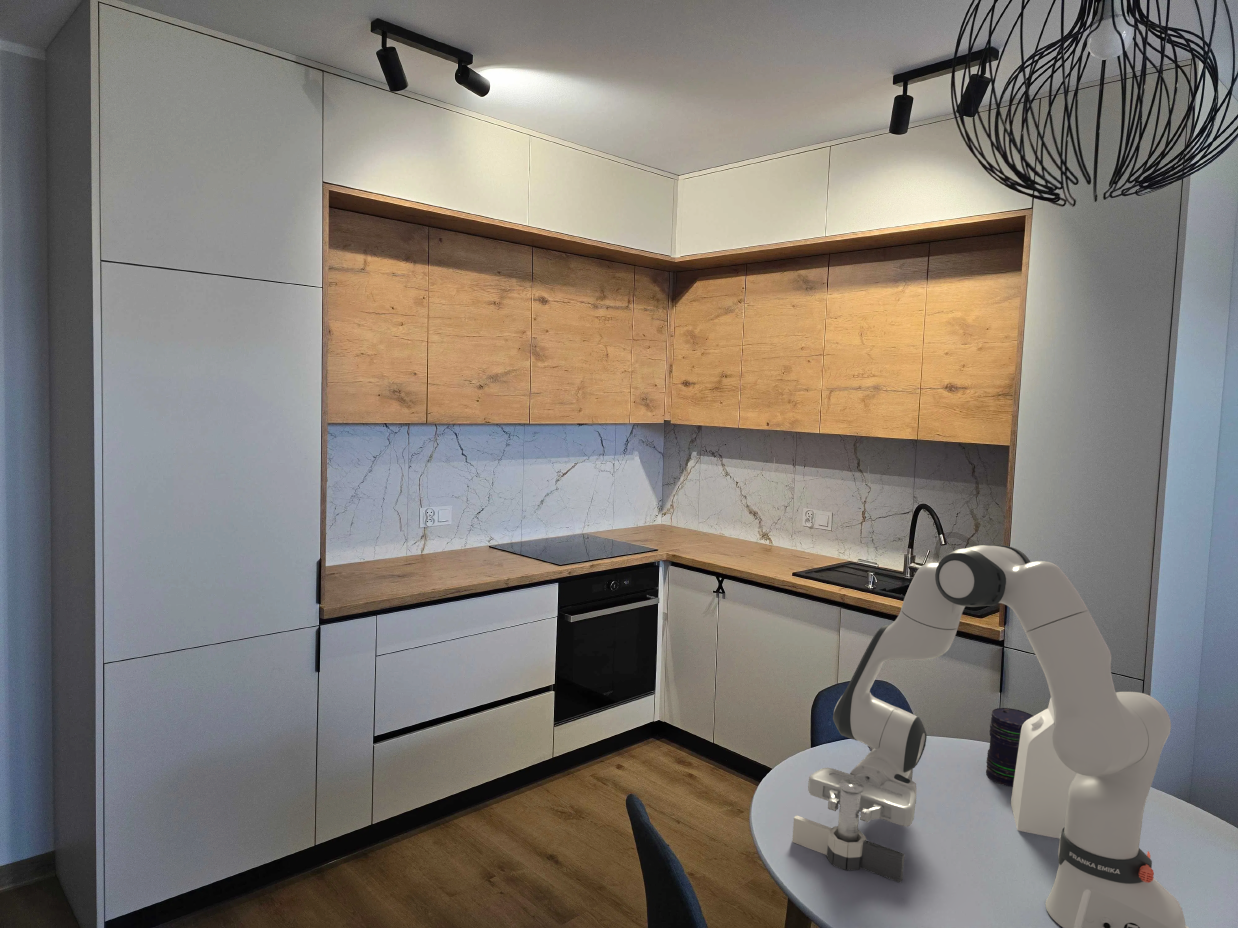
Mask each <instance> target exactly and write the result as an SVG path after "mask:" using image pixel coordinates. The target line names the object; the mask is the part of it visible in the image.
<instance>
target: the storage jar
mask: <svg viewBox="0 0 1238 928" xmlns="http://www.w3.org/2000/svg"><path fill="white" fill-rule="evenodd" d="M1033 716H1034V715H1033V714H1031V713H1029V712H1027V711H1024V710H1020V709H1017V708H1010V707H1009V708H1008V707H997V708H994V709H992V710H991V717H990V722H989V723H990V724H989V736H990V737H989V738H990V739H989V747H988V749H987V755H986V770H985V775H986V777H987V778H988V779H989V780H991V781H993V782H994V783H996V784H999V785H1001V786H1005V787H1009V788H1013V784H1014V776H1015V769H1016V762H1017V755H1018V748H1019V741H1020V734H1021V728H1022V725H1023V723H1024V722H1025V721H1026V720H1028V719H1030V718H1031V717H1033Z"/></svg>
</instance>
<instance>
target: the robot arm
mask: <svg viewBox="0 0 1238 928" xmlns="http://www.w3.org/2000/svg"><path fill="white" fill-rule="evenodd" d="M998 604H1003V605H1005V606H1007V607H1009V608H1010V609H1011V610H1012V611H1013V613H1014V614H1015V615H1016V617H1017V619H1018V621H1019V623H1020V625H1021V627H1022V630H1023V632H1024V634H1025V635H1026V638H1027V639H1028V642H1029V644H1030V646H1031V648H1032V649H1033V652H1034V655H1035V656H1036V658H1037V660H1038V662H1039V665H1040V668H1041V669H1042V671H1043V673H1044V677H1045V680H1046V682H1047V686H1048V690H1049V694H1050V698H1051V700H1052V705H1053V710H1054V717H1055V726H1054V730H1053V736H1052V740H1053V746H1054V749H1055V751H1056V754H1057V755H1058V757H1059V758H1060V760H1061V761H1062V762H1063V763H1064V764H1065V765H1066V766H1067V767H1068V768H1069V769H1071V770H1072V771H1074V772H1076V773H1077V774H1076V776H1075V778H1074V779H1073V781H1072V783H1071V785H1070V787H1069V791H1068V801H1067V810H1066V819H1065V827H1064V828H1063V829H1062V832H1061V835H1060V839H1058V840H1059V841H1058V850H1057V851H1058V852H1057V857H1058V858H1057V860H1058V868H1057V871H1056V874H1055V879H1054V882H1053V885H1052V888H1051V890H1050V893H1049V895H1048V896H1047V898H1046V900H1045V908H1046V911H1047V913H1048V915H1049V916H1050V918H1051V919H1053V920H1054V922H1056V924H1058V925H1059V926H1060V927H1062V928H1190V927H1189V926H1188V925H1186V919H1185V914H1184V911H1183V908H1182V907H1181V904H1180V902H1179V901H1178V899H1177V898H1176V897H1175V896H1174V895H1173V894H1172V893H1170V892H1169V891H1168V890H1167V889H1166V888H1165V887H1164V886H1163V885H1162V884H1161V883H1160V882H1159V881H1157V880H1156V879H1155V878H1154V876H1155V875H1154V874H1155V872H1154V870H1153V861H1152V859H1151V853H1150V851H1147V852H1146V853H1147V854H1146V853H1145V852H1144V851H1143V850H1142V849H1141V848H1140V842H1141V836H1142V835H1141V834H1142V827H1143V818H1144V812H1145V807H1146V803H1147V799H1148V796H1149V793H1150V790H1151V787H1152V785H1153V782H1154V778H1155V775H1156V772H1157V769H1158V765H1159V761H1160V757H1161V754H1162V751H1163V749H1164V746H1165V744H1166V742H1167V740H1168V738H1169V736H1170V733H1171V729H1172V722H1171V718H1170V715H1169V713H1168V711H1167V710H1166V708H1165V707H1164V706H1163V704H1162V703H1161V702H1159V701H1158V700H1157V699H1156V698H1154V697H1153V696H1151V695H1148V694H1147V693H1143V692H1139V691H1116V689H1115V685H1114V681H1113V676H1112V670H1111V669H1112V668H1111V665H1112V654H1111V649H1110V648H1109V646H1108V645H1107V642H1106V641H1105V639H1104V636H1103V635H1102V633H1101V632H1100V631H1101V630H1100V629H1099V627H1098V625H1097V624H1096V622H1095V619H1094V618H1093V616H1092V614H1091V612H1090V611H1089V608H1088V607H1087V604H1085V601H1084V600H1083V598H1082V596H1081V594H1080V593H1079V591H1078V590H1077V589H1076V587H1075V586H1074V584H1073V582H1071V580H1070V579H1069V577H1067V575H1066V574H1065V572H1064V571H1063V570H1062V569H1061V568H1060V567H1059V566H1058V565H1057V564H1055V563H1053V562H1051V561H1044V560H1037V561H1031V559H1029V557H1028V556H1027V555H1026V554H1025V553H1023V552H1022V551H1021V550H1020V549H1017V548H1015V547H1013V546H1009V545H1006V544H1005V545H1004V544H998V545H983V544H982V545H981V544H980V545H974V546H970V547H966V548H957V549H956V550H953V551H951V552H949V553H948V554H946V555H945V556H944V557H943V558H941V559H940V561H939V562H928V563H924V564H923V565H921V566H920V567H919V568H918V569H917V570H916V572H915V574H914V576H913V578H912V580H911V583H910V584H909V587H908V589H907V592H906V594H905V596H904V598H903V601H902V604H901V605H902V606H901V609H900V611H899V614H898V615H897V617H896V618H895V620H894V621H893V622H892V623H891V624H886V625H882V626H881V627H880V628H878V630H877V631H876V633H875V634H874V635H873V637H872V638H871V640H870V642H869V644H868V645H867V647H866V649H865V651H864V653H863V655H862V656H861V659H860V660H859V662H858V665H857V667H856V669H855V671H854V673H853V675H852V677H851V679H850V681H849V683H848V685H847V687H846V689H845V690H844V692H843V694H842V695H841V696H840V698H839V699H838V701H837V703H836V704H835V707H834V710H833V715H832V720H833V723H834V724H835V727H836V728H837V731H838V732H839V734H840V735H841V736H842V737H843V736H844V737H845V738H847V739H851V740H854V741H856V742H859V743H862V744H864V745H866V746H867V745H868V746H870V747H872V748H874V749H873V750H871V751H870V752H868V753H867V755H866V756H865V757H864V758H863V759H862V760H861V761H860V762H859V763H858V764H857V765H856V766H855V767H854V768H852V770H851V771H850V772H849V773H848V772H845V771H842V770H839V769H836V768H832V767H822V768H821V769H818V770H816V771H815V772H813V773H812V774H810V776H809V777H808V783H807V784H808V785H807V792H808V793H809V795H810V796H813V797H815V798H818V799H822V800H824V801H828V802H827V809H828V810H831V811H834V812H837V811H838V809H839V807H840V796H841V789H840V787H839V782H840V781H841V780H843V779H852V780H856V781H858V782H860V783H862V784H863V786H864V788H863V792H861V798H860V810H859V820H860V821H863V822H866V823H869V822H870V821H873V820H879V819H881V820H883V821H886V822H889V823H892V824H896V825H898V826H900V827H910V826H912V824H913V822H914V820H915V813H916V812H915V811H916V804H917V783H916V781H914V780H913V779H912V780H910V779H908V776H909V774H910V771H911V770H912V769H914V768H916V767H917V765H918V763H919V762H920V760H921V758H922V757H923V754H924V751H925V747H926V743H927V738H928V737H927V735H928V734H927V732H926V728H925V725H924V723H923V721H922V720H921V718H920V717H919V716H916V715H915V714H913V713H911V712H909V711H906V710H905V709H902V708H900V707H898V706H895V705H892V704H890V703H888V702H885V701H884V700H881V699H879V698H877V697H875V696H874V695H873V694H872V693H871V688H872V687H873V685H874V682H875V680H876V679H877V677H878V676H879V675H878V674H879V673H880V671H881V669H882V666H883V665H884V663H886V662H888V661H895V660H898V661H900V660H902V661H904V660H905V661H915V662H916V661H928V660H933V659H936V658H939V657H941V656H943V655H944V654H946V653H947V652H948V651H949V650H950V648H951V647H952V644H953V642H954V641H955V637H956V635H957V631H958V629H959V625H960V622H961V618H962V615H963V612H964V610H965V608H966V607H968V608H969V607H970V608H978V607H986V606H987V607H990V606H991V607H992V606H997V605H998ZM868 746H867V747H868ZM870 747H869V748H870Z"/></svg>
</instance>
